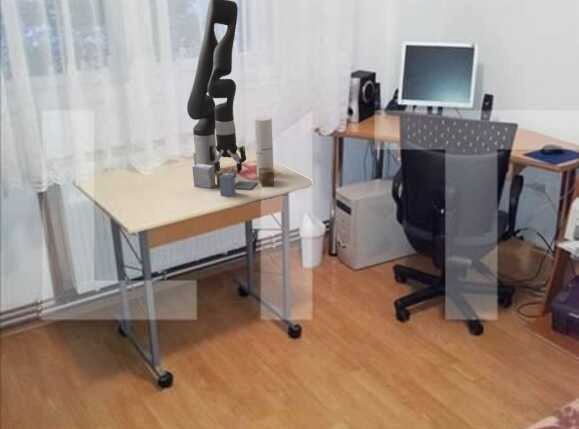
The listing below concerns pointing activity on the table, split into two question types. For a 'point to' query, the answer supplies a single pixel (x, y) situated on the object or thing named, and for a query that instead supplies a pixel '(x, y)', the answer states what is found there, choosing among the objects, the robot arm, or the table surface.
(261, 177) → the bearing block
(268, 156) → the cylindrical container
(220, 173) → the bearing block
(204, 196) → the table surface
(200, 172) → the medicine box
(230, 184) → the block
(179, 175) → the table surface
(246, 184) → the pad
